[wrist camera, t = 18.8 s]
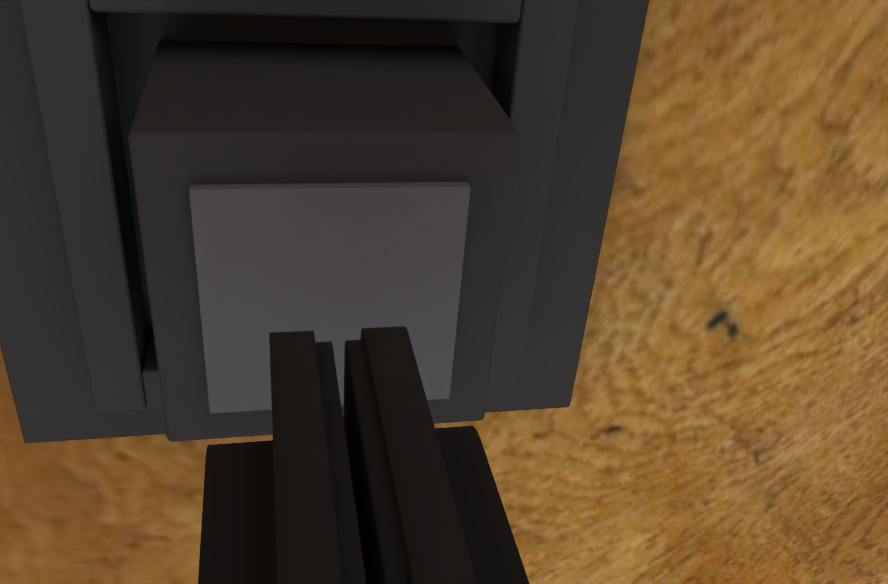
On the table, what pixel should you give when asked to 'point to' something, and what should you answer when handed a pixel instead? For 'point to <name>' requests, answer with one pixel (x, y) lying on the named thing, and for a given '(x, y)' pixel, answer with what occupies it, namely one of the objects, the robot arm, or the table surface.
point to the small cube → (317, 217)
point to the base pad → (281, 21)
